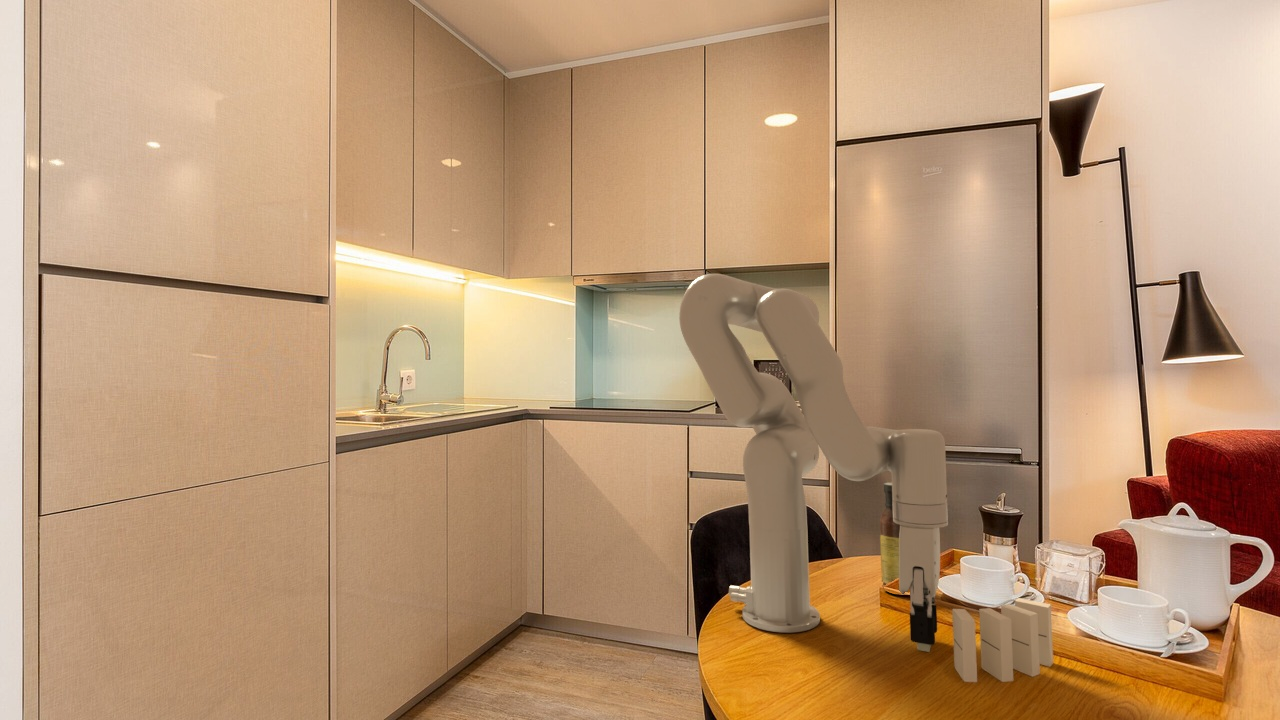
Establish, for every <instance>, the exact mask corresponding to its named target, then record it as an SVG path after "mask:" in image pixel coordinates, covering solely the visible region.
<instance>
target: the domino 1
mask: <svg viewBox="0 0 1280 720" xmlns="http://www.w3.org/2000/svg"><path fill="white" fill-rule="evenodd" d="M951 613H952V636H953V637H952V638H953V659H954V660H953V662H954V663H953V665H954V669H955V670H956V672H957V673H958V675H959V676H960V678H961V679H962V681H963V682H965V683H978V669H977V668H978V667H977V666H978V665H977V642H976V638H977V637H976V620H975V619H974V617H972V615H971V614H970V613H969V612H968V610H966V609H965V608H952V612H951Z"/></svg>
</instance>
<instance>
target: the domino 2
mask: <svg viewBox="0 0 1280 720" xmlns="http://www.w3.org/2000/svg"><path fill="white" fill-rule="evenodd" d="M978 611H979V633H980V634H979V636H980V659H981V661H980V662H981V667H980V668H981V669H982V670H984V671H985V672H987V673H988V674H990V675H991V676H992V677H994V678H995V679H997V680H999V681H1000V682H1002V683H1006V682H1013V681H1014V669H1013V656H1012V631H1011V619H1010V618H1008V617H1006V616H1004V615H1002V614H1001V612H998V611H997V610H994V609H992V608H990V607H987V608H979V609H978Z"/></svg>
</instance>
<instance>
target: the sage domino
mask: <svg viewBox="0 0 1280 720" xmlns="http://www.w3.org/2000/svg"><path fill="white" fill-rule="evenodd" d="M924 594H928V590H924ZM924 602H926V603H927V599H924ZM931 646H932V645H928V644H922V643H917V642H916V650H917V651H922V652H927V653H930V650H931Z"/></svg>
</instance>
